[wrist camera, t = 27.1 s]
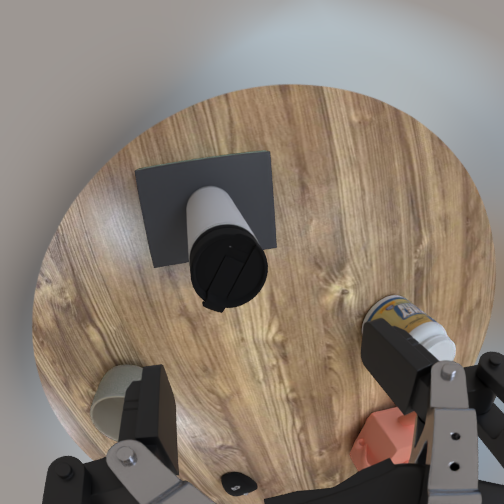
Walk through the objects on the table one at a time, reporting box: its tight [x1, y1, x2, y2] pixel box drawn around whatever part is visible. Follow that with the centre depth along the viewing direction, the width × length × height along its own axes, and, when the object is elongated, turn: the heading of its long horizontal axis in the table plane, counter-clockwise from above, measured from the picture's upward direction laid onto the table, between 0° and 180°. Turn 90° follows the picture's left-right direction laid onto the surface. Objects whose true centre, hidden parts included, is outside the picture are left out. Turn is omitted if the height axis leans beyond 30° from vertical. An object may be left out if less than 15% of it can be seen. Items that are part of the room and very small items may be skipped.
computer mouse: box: [221, 472, 257, 496], centre depth 66 cm, size 8×12×4 cm, turn 27°
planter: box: [90, 364, 143, 442], centre depth 47 cm, size 12×12×11 cm
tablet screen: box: [135, 151, 277, 268], centre depth 43 cm, size 14×18×1 cm
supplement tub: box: [362, 295, 456, 361], centre depth 51 cm, size 12×12×17 cm
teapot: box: [350, 407, 417, 471], centre depth 62 cm, size 25×23×18 cm
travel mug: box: [186, 186, 268, 313], centre depth 33 cm, size 6×7×20 cm
